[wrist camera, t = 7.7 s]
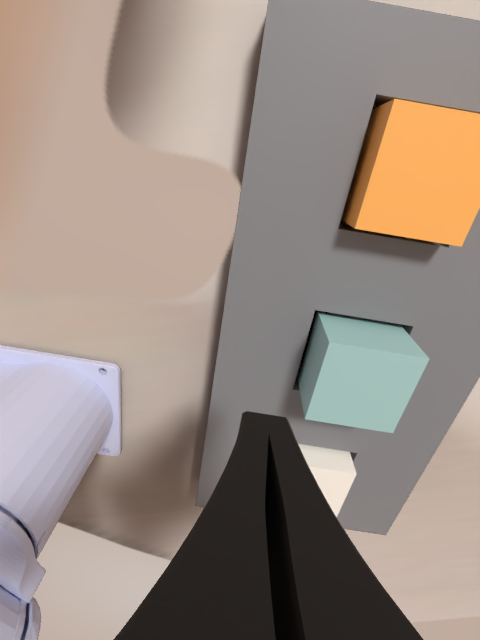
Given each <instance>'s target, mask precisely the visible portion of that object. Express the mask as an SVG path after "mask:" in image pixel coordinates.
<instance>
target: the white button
mask: <svg viewBox="0 0 480 640" xmlns="http://www.w3.org/2000/svg"><path fill="white" fill-rule="evenodd" d="M298 445H299V447H300V449H301V451H302V454H303V456H304V458H305V460H306V462H307V464H308V466H309V468H310V470H311V472H312V474H313V476H314V478H315V480H316V482H317V484H318V486H319V487H320V489H321V491H322V493H323V495H324V497H325V498H326V500H327V502H328V504H329V505H330V507H331V509H332V511H333V512H334V514H335V516H336V517H337V516H338V513H339V511H340V509H341V507H342V505H343V503H344V500H345V498H346V496H347V494H348V492H349V490H350V487H351V485H352V483H353V481H354V479H355V477H356V474H357V473H356V470H355V467H354V464H353V460H352V457H351V454H350V452H347V451H341V450H335V449H328V448H322V447H316V446H309V445H303V444H298Z"/></svg>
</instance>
